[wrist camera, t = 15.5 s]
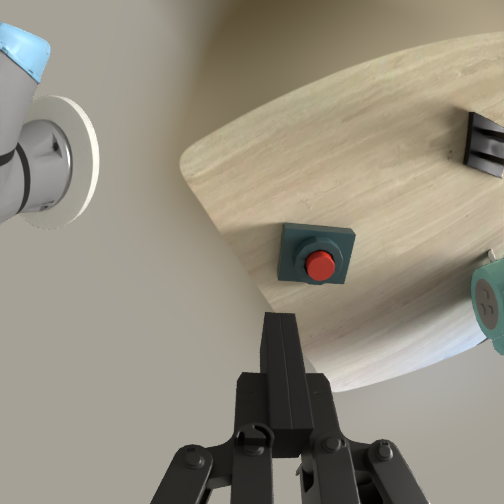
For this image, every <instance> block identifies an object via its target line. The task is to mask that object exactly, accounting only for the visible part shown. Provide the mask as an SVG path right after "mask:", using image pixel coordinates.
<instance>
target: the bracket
mask: <svg viewBox="0 0 504 504" xmlns="http://www.w3.org/2000/svg"><path fill="white" fill-rule="evenodd" d="M463 164H464V165H467V166H470V167H473V168H476V169H478V170H481V171H484V172H486V173H489V174H491V175H494V176H496V177H499V178H501V179H502V175H503V170H504V165H503V164H504V128H503V127H501V126H500V125H498V124H496V123H494V122H492V121H491V120H489V119H487V118H485V117H483V116H481V115H479V114H477V113H475V112H469V123H468V133H467V141H466V148H465V155H464V162H463Z"/></svg>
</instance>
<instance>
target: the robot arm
mask: <svg viewBox="0 0 504 504" xmlns="http://www.w3.org/2000/svg"><path fill="white" fill-rule="evenodd" d="M50 52H51V50H50V45H49V44H48V42H47V41H45V40H44V39H42V38H40V37H38V36H35V35H33V34H31V33H29V32H26V31H24V30H21V29H19V28H16V27H14V26H11V25H8V24H6V23H2V22H0V224H1V223H3V222H5V221H6V220H8V219H9V218H11V217H13V216H14V215H16V214H18V213H26V212H41V211H45V210H48V209H50V208H52V207H53V206H55V205H57V204H58V203H59V202H60V201H61V200H62V199H63V198H64V196H65V195H66V193H67V191H68V189H69V186H70V183H71V179H72V173H73V156H72V150H71V146H70V143H69V141H68V138H67V136H66V134H65V133H64V131H63V130H62V129H61V128H60V127H59V126H58V125H57V124H56V123H54V122H53V121H50V120H46V119H40V120H33V121H30V122H28V123H25V124H24V125H23V123H24V120H25V117H26V114H27V111H28V109H29V106H30V103H31V101H32V98H33V96H34V93H35V91H36V88H37V86H38V84H39V83H40V82H41V75H42V73H43V70H44V68H45V66H46V63H47V61H48V59H49V56H50ZM331 392H332V391H331V387H330V383H329V381H328V379H327V378H326V377H325V375H324V374H323V373H305V367H304V362H303V356H302V350H301V344H300V338H299V333H298V327H297V322H296V317H295V314H292V313H271V312H265V316H264V324H263V332H262V340H261V346H260V373H249V372H242V374H241V375H240V377H239V378H238V380H237V388H236V403H235V404H236V405H235V422H234V433H233V435H232V437H231V438H230V439H229V440H228V441H227V442H225V443H224V444H221V445H218V446H213V447H208V448H204V447H202V446H200V445H193V444H192V445H186V446H184V447H182V448H180V449H179V450H178V451H177V452H176V454H175V456H174V458H173V460H172V461H171V463H170V465H169V468H168V469H167V471H166V473H165V476H164V478H163V479H162V481H161V483H160V485H159V487H158V489H157V491H156V493H155V495H154V497H153V499H152V501H151V503H150V504H207V503H208V501H209V498H210V496H211V493H212V491H213V489H215V488H220V487H225V486H230V485H231V500H230V504H274V498H273V472H272V458H298V457H299V455H300V454H301V460H302V463H301V464H300V466H299V468H298V469H297V471H296V476H297V475H299V474H300V484H301V496H302V504H430V502H429V500H428V499H427V497H426V495H425V494H424V492H423V490H422V488H421V487H420V485H419V483H418V482H417V480H416V478H415V477H414V475H413V473H412V471H411V470H410V468H409V466H408V465H407V463H406V461H405V460H404V458H403V456H402V455H401V453H400V451H399V450H398V448H397V446H396V445H395V444H394V443H393V442H391V441H389V440H384V439H381V440H376V441H375V442H374V443H372V444H365V443H359V442H354V441H351V440H349V439H348V438H346V437H345V436H344V435H343V434H342V432H341V430H340V427H339V423H338V418H337V414H336V409H335V404H334V401H333V396H332V393H331Z"/></svg>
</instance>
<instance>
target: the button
mask: <svg viewBox="0 0 504 504" xmlns="http://www.w3.org/2000/svg"><path fill="white" fill-rule="evenodd" d="M306 268H307V271H308V274H309V276H310V277H311V278H312V279H314V280H317V281H322V280H326V279H328V278H329V277H330V276H331V275H332V274H333V272H334V269H335V265H334V262H333V260H332V258H331V256H330V255H329V254H328V253H327V252H325V251H316V252H313V253H312V254H310V255H309V257H308V258H307V260H306Z"/></svg>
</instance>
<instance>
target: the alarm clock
mask: <svg viewBox="0 0 504 504" xmlns="http://www.w3.org/2000/svg"><path fill="white" fill-rule="evenodd" d="M488 258H489V261H490V264H487V265H485V266H482V267H480V268H477V269H476V271H475V272H474V273H473V276H472V281H471V297H472V303H473V309H474V312H475V316H476V319H477V322H478V324H479V326H480V328H481V330H482V332H483V333H484V334H485V335H486V337H487V338H490V339H492V340H493V341H492V342H493V346H494V348H495V350H496V351H497V352H498V353H500V354H501V355H504V258H502V259H499V260H496V258H495V256H494V254H493V252H492V250H491V249H490V250H489V252H488ZM502 335H503V336H502ZM500 336H501V337H500ZM498 337H499V338H498ZM496 338H497V339H496ZM494 339H495V340H494Z"/></svg>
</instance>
